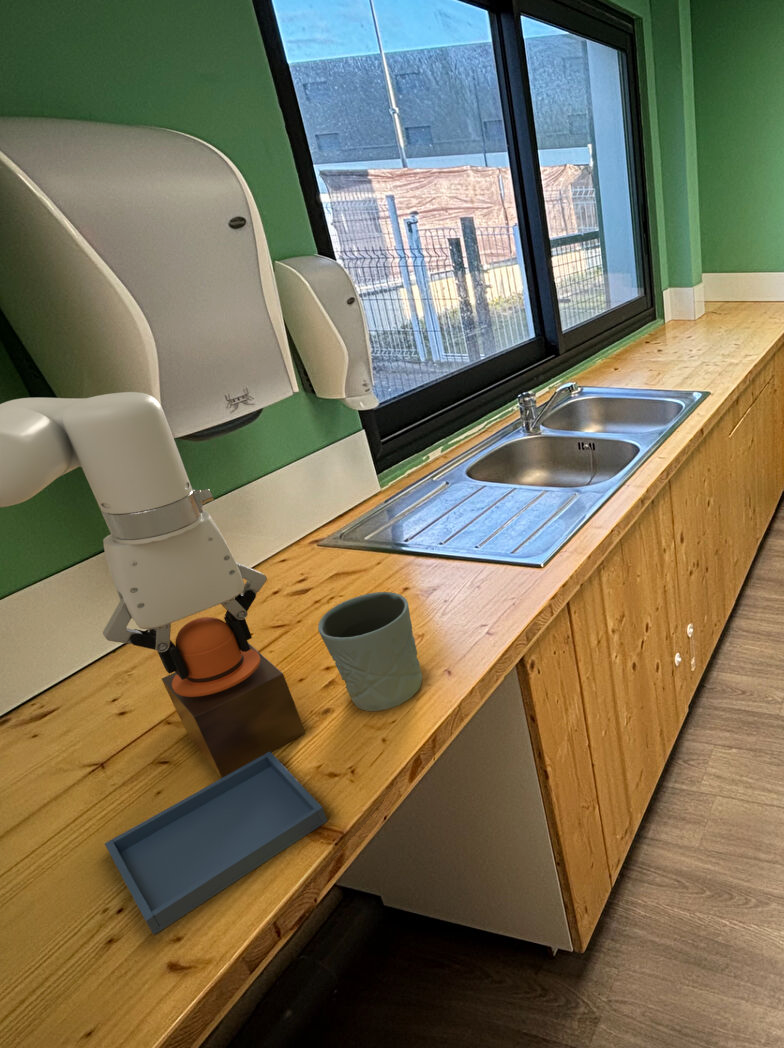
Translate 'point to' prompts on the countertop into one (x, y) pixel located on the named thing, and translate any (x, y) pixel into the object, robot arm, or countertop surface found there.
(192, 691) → the hat
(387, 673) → the grey-green cup
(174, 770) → the countertop surface
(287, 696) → the stand block
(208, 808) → the tray
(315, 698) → the countertop surface
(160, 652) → the robot arm
